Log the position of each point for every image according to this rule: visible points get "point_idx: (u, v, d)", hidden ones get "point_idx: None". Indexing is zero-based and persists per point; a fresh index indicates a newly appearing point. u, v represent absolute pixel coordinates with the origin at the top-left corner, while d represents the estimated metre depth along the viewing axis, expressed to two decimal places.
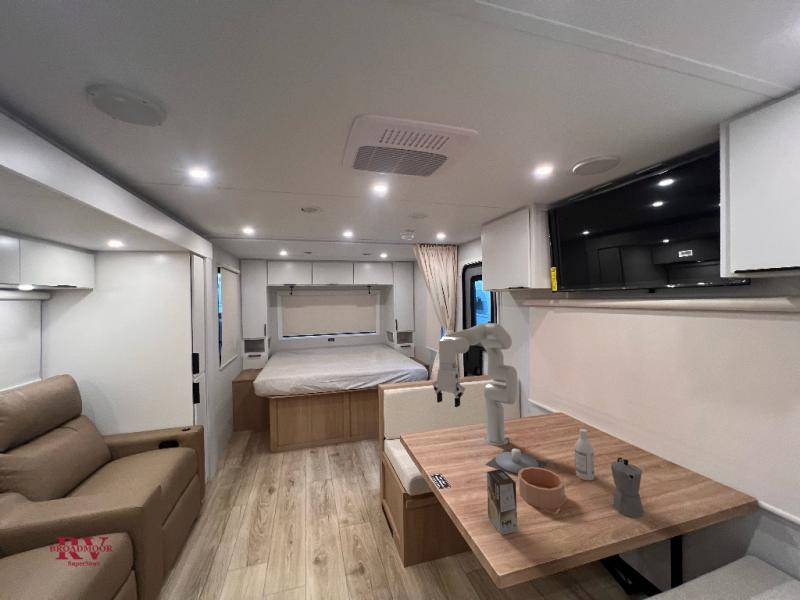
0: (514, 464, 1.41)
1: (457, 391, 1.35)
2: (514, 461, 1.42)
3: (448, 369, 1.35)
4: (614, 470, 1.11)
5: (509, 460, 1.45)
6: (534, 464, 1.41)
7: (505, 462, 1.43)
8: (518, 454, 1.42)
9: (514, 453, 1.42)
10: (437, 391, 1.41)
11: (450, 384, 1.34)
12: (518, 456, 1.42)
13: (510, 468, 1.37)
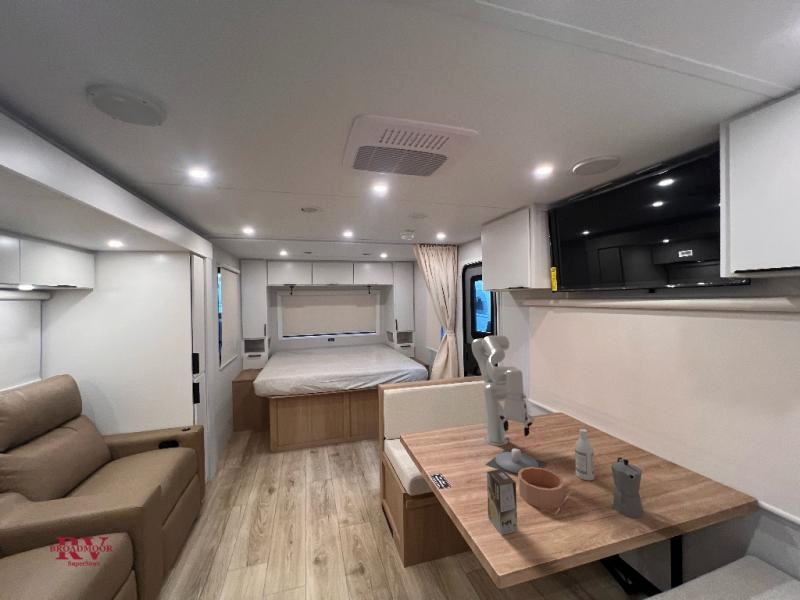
0: (514, 464, 1.41)
1: (526, 421, 1.41)
2: (514, 461, 1.42)
3: (517, 399, 1.41)
4: (614, 470, 1.11)
5: (509, 460, 1.45)
6: (534, 464, 1.41)
7: (505, 462, 1.43)
8: (518, 454, 1.42)
9: (514, 453, 1.42)
10: (504, 420, 1.46)
11: (519, 414, 1.40)
12: (518, 456, 1.42)
13: (510, 468, 1.37)
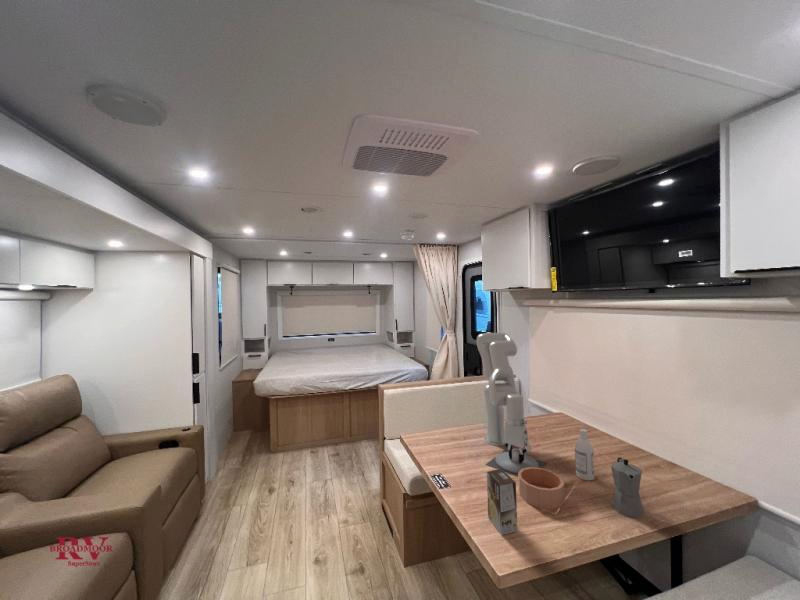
0: (514, 464, 1.41)
1: None
2: (514, 461, 1.42)
3: (518, 425, 1.40)
4: (614, 470, 1.11)
5: (509, 460, 1.45)
6: (534, 464, 1.41)
7: (505, 462, 1.43)
8: (518, 454, 1.42)
9: (514, 453, 1.42)
10: (509, 448, 1.45)
11: (520, 440, 1.40)
12: (518, 456, 1.42)
13: (510, 468, 1.37)
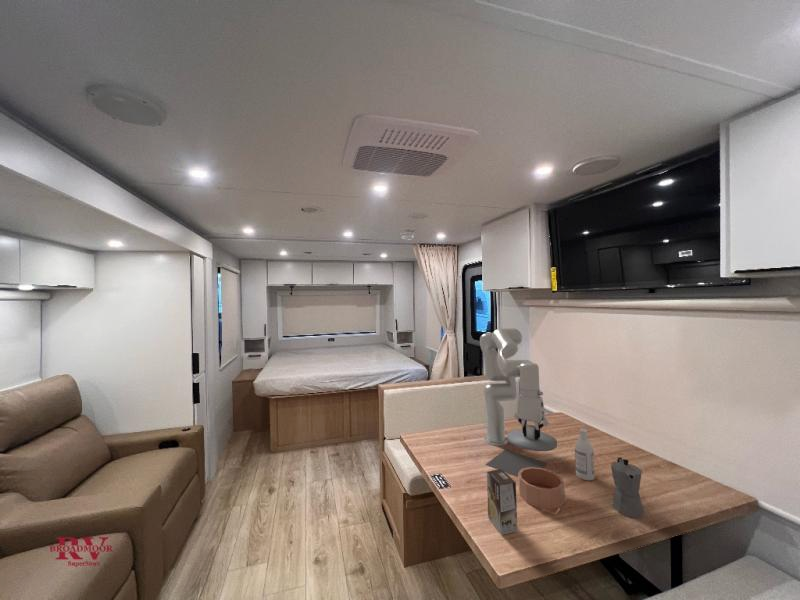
0: (529, 441, 1.24)
1: None
2: (529, 438, 1.26)
3: (533, 397, 1.24)
4: (614, 470, 1.11)
5: (523, 437, 1.28)
6: (552, 441, 1.24)
7: (519, 439, 1.26)
8: (533, 430, 1.25)
9: (529, 429, 1.26)
10: (523, 423, 1.28)
11: (535, 413, 1.24)
12: (533, 432, 1.25)
13: (525, 444, 1.21)
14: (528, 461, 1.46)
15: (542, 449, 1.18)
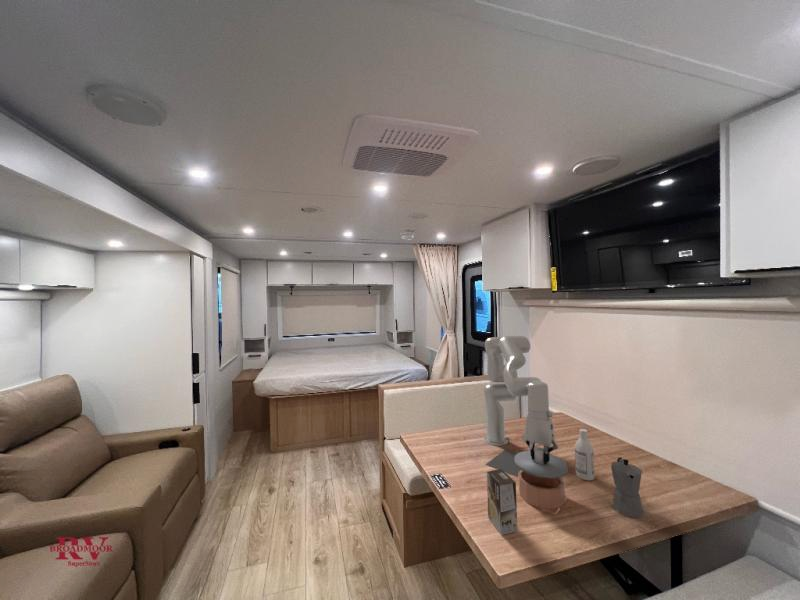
0: (538, 465, 1.17)
1: None
2: (537, 462, 1.18)
3: (542, 419, 1.17)
4: (614, 470, 1.11)
5: (531, 460, 1.21)
6: (562, 465, 1.17)
7: (527, 463, 1.19)
8: (542, 453, 1.18)
9: (537, 452, 1.19)
10: (531, 446, 1.21)
11: (544, 436, 1.17)
12: (542, 456, 1.18)
13: (534, 470, 1.14)
14: None
15: (552, 476, 1.10)
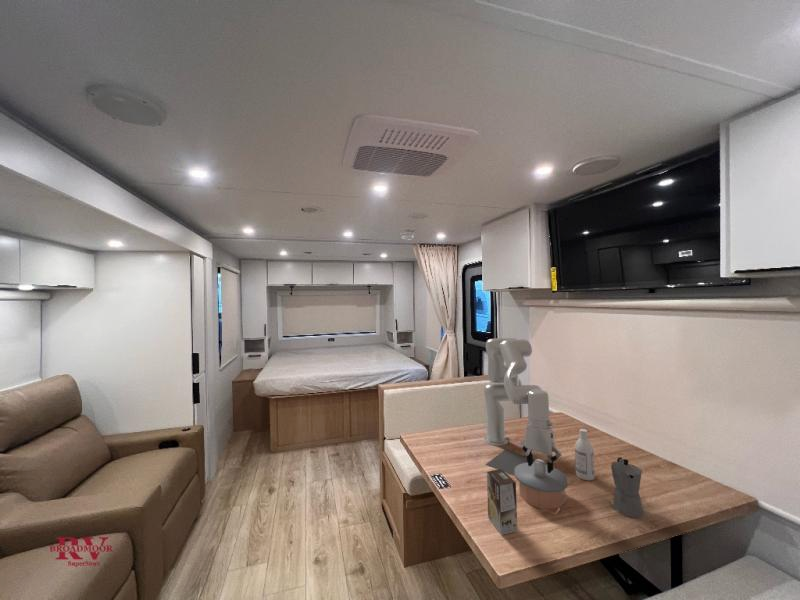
0: (538, 478, 1.17)
1: None
2: (538, 475, 1.19)
3: (542, 428, 1.17)
4: (614, 470, 1.11)
5: (531, 473, 1.21)
6: (562, 478, 1.17)
7: (527, 476, 1.19)
8: (542, 466, 1.18)
9: (537, 465, 1.19)
10: (528, 452, 1.22)
11: (545, 445, 1.17)
12: (542, 469, 1.18)
13: (534, 484, 1.14)
14: None
15: (552, 490, 1.10)
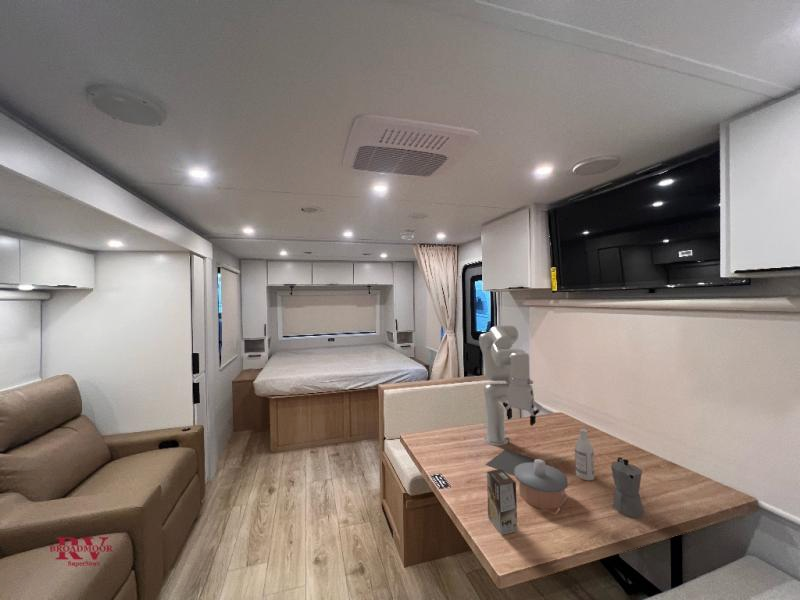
0: (538, 478, 1.17)
1: (532, 408, 1.28)
2: (538, 475, 1.19)
3: (523, 385, 1.26)
4: (614, 470, 1.11)
5: (531, 473, 1.21)
6: (562, 478, 1.17)
7: (527, 476, 1.19)
8: (542, 466, 1.18)
9: (537, 465, 1.19)
10: (507, 407, 1.33)
11: (525, 401, 1.26)
12: (542, 469, 1.18)
13: (534, 484, 1.14)
14: (528, 461, 1.46)
15: (552, 490, 1.10)
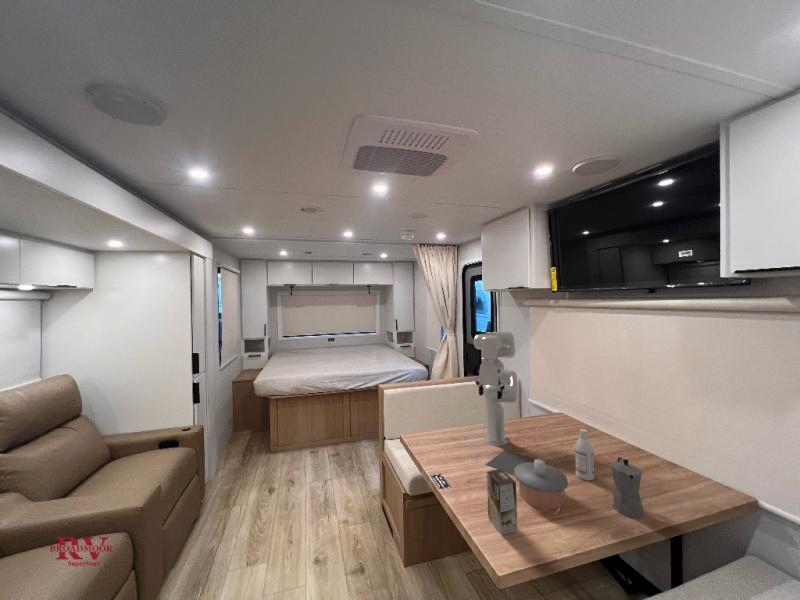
0: (538, 478, 1.17)
1: (499, 385, 1.48)
2: (538, 475, 1.19)
3: (491, 364, 1.47)
4: (614, 470, 1.11)
5: (531, 473, 1.21)
6: (562, 478, 1.17)
7: (527, 476, 1.19)
8: (542, 466, 1.18)
9: (537, 465, 1.19)
10: (479, 385, 1.53)
11: (493, 378, 1.47)
12: (542, 469, 1.18)
13: (534, 484, 1.14)
14: (528, 461, 1.46)
15: (552, 490, 1.10)
